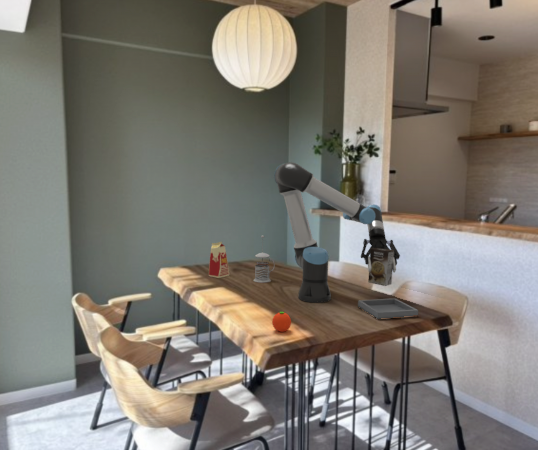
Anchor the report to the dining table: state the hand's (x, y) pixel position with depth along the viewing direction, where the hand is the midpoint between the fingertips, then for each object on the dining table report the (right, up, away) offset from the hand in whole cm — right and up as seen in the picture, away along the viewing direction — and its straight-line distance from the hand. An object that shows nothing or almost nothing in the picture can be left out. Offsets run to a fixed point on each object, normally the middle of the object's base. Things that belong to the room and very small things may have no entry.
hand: (382, 270), depth 196 cm
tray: (-2, -16, -13) cm, 21 cm away
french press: (-54, -10, +41) cm, 69 cm away
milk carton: (-81, -9, +51) cm, 96 cm away
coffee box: (0, -7, +4) cm, 8 cm away
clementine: (-47, -18, -38) cm, 63 cm away
